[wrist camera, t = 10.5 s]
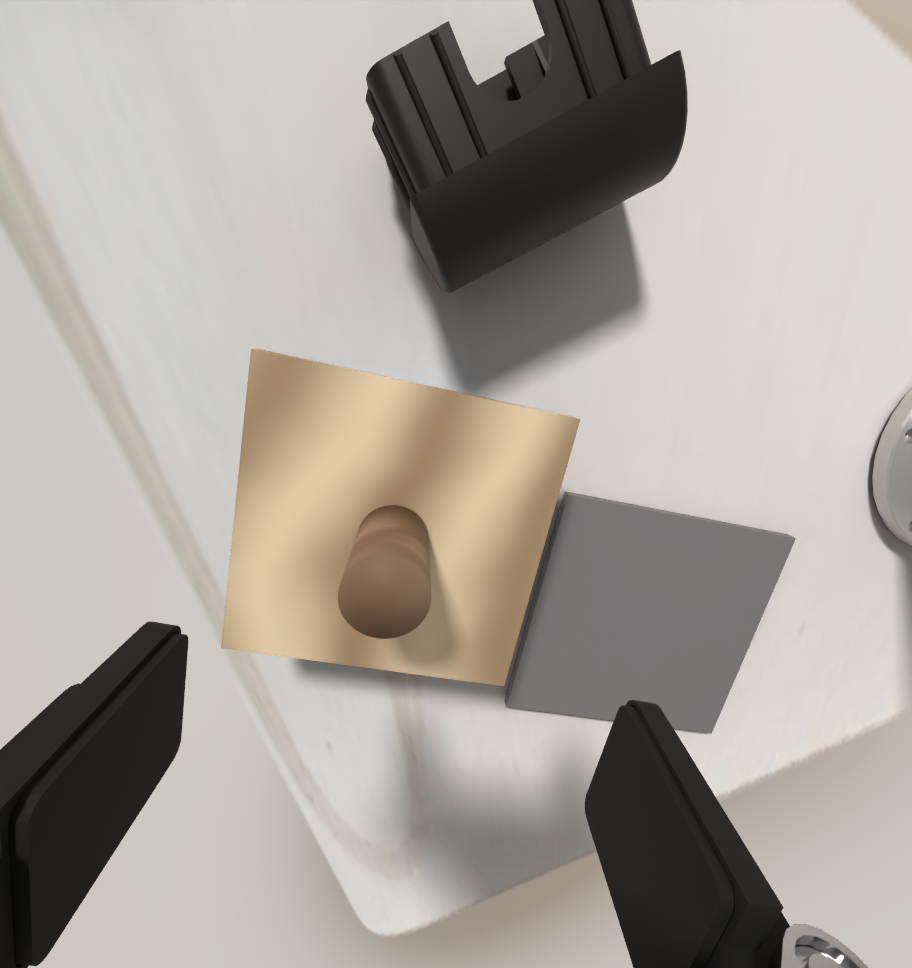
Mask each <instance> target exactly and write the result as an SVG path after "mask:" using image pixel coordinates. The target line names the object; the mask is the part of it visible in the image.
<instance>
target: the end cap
mask: <svg viewBox="0 0 912 968" xmlns="http://www.w3.org/2000/svg"><path fill="white" fill-rule="evenodd" d="M533 3H534V6H535V8H536V11H537V14H538V17H539V20H540V23H541V25H542V28H543V31H544V34H545V35H544V36H543V37H541V38H539V39H537V40H535V41H534V42H532V43H530V44H528V45H527V46H525V47H523V48H521V49H519V50H518V51H516V52H514V53H512V54H510V55H509V56H507V57H506V59H505V62H504V64H505V67H506V70H504V71H502V72H501V73H499V74H497V75H495V76H493V77H492V78H490V79H488V80H486V81H484V82H483V83H481V84H479V85H476V83H475V82H474V81H473V79H472V77H471V75H470V73H469V71H468V69H467V66H466V64H465V61H464V59H463V56H462V54H461V51H460V49H459V46H458V44H457V41H456V39H455V36H454V34H453V31H452V29H451V26H450V24H449V21H448V22H446V23H444V24H443V25H441V26H439V27H437V28H436V29H434V30H432V31H430V32H428V33H427V34H425V35H423V36H421V37H420V38H418V39H416V40H414V41H413V42H411V43H409V44H407V45H406V46H404V47H402V48H400V49H399V50H397V51H395V52H393V53H391V54H390V55H388V56H386V57H384V58H383V59H381V60H380V61H378V62H377V63H376V64H374V65H373V66H372V67H371V69H370V70H369V72H368V74H367V77H366V81H367V86H368V91H367V95H366V102H367V104H368V107H369V109H370V111H371V113H372V115H373V117H374V122H373V126H372V131H373V133H374V135H375V137H376V139H377V141H378V143H379V146H380V148H381V150H382V152H383V154H384V156H385V158H386V161H387V163H388V165H389V167H390V169H391V171H392V174H393V176H394V178H395V180H396V182H397V184H398V186H399V189H400V191H401V193H402V195H403V197H404V199H405V201H406V204H407V206H408V208H409V210H410V213H411V228H412V237H413V240H414V242H415V244H416V246H417V248H418V250H419V252H420V254H421V256H422V258H423V260H424V262H425V263H426V265H427V267H428V269H429V271H430V273H431V274H432V276H433V278H434V279H435V281H436V283H437V284H438V285H439V287H440V288H441V289H442V290H443V291H444V292H452V291H454V290H456V289H458V288H460V287H462V286H464V285H466V284H468V283H470V282H471V281H473V280H475V279H477V278H479V277H481V276H483V275H485V274H487V273H488V272H490V271H492V270H494V269H496V268H498V267H500V266H502V265H504V264H505V263H507V262H509V261H511V260H513V259H515V258H517V257H519V256H521V255H522V254H524V253H526V252H528V251H530V250H532V249H534V248H536V247H538V246H539V245H541V244H543V243H545V242H547V241H549V240H551V239H553V238H555V237H556V236H558V235H560V234H562V233H564V232H566V231H568V230H570V229H572V228H573V227H575V226H577V225H579V224H581V223H583V222H585V221H587V220H589V219H590V218H592V217H594V216H596V215H598V214H600V213H602V212H604V211H606V210H607V209H609V208H611V207H613V206H615V205H617V204H619V203H621V202H623V201H625V200H626V199H628V198H630V197H632V196H634V195H636V194H638V193H640V192H642V191H643V190H645V189H647V188H649V187H651V186H653V185H655V184H657V183H659V182H660V181H662V180H663V179H664V178H665V177H666V176H667V175H668V174H669V173H670V171H671V170H672V168H673V166H674V165H675V163H676V161H677V159H678V156H679V154H680V151H681V148H682V145H683V140H684V136H685V131H686V122H687V85H686V77H685V69H684V65H683V60H682V56H681V51H680V50H679V51H676V52H674V53H673V54H671V55H669V56H667V57H665V58H663V59H662V60H660V61H658V62H656V63H654V64H652V65H651V62H650V59H649V56H648V52H647V49H646V46H645V42H644V39H643V36H642V32H641V29H640V26H639V22H638V19H637V16H636V12H635V9H634V6H633V2H632V0H533Z"/></svg>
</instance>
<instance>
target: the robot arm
mask: <svg viewBox="0 0 912 968" xmlns="http://www.w3.org/2000/svg"><path fill="white" fill-rule="evenodd" d="M872 478H873V495H874V499H875V502H876V506H877V509H878V512H879V514H880V516H881V518H882V519H883V521H884V523H885V525H886V526H887V527H888V528H889V529H890V530H891V532H892V533H893V534H894V535H895V536H896V537H897V538H899V539H900V540H902V541H904V542H905V543H907V544H909V545H910V546H912V389H911V390H910V391H909V392H908V393H907V394H906V395H905V397H904V398H903V399H902V401H901V402H900V404H899V405H898V407H897V408H896V409H895V411H894V412H893V414H892V415H891V417H890V419H889V421H888V423H887V425H886V427H885V429H884V431H883V433H882V436H881V439H880V442H879V445H878V448H877V451H876V454H875V461H874V468H873V475H872ZM187 650H188V637H187V635H184V634H181V629H180V627H179V626H175V625H169V624H163V623H157V622H147V623H146V624H144V625H143V626H142V627H141V628H140V629H139V630H138V631H137V632H136V633H135V634H133V635H132V636H131V637H130V638H129V639H128V640H127V641H126V642H125V643H124V644H123V645H122V646H121V647H119V648H118V650H117V651H115V652H114V653H113V654H112V655H111V656H110V657H109V658H108V659H107V660H106V661H105V662H104V663H102V664H101V665H100V666H99V667H98V668H97V669H96V670H95V671H94V672H93V673H92V674H91V675H90V676H89V677H88V678H86V679H85V680H84V681H83V682H82V683H81V684H76V685H73V686H71V687H69V688H68V689H67V690H65V691H64V692H63V693H62V694H61V695H60V696H59V697H57V698H56V699H55V700H54V701H53V702H52V703H51V704H50V705H49V706H48V707H46V708H45V709H44V710H43V711H42V712H41V713H40V714H39V715H38V716H37V717H36V718H35V719H33V720H32V721H31V722H30V723H29V724H28V725H27V726H26V727H25V728H24V729H23V730H22V731H20V732H19V733H18V734H17V735H16V736H15V737H14V738H13V739H12V740H11V741H10V742H8V743H7V744H6V745H5V746H4V747H3V748H2V749H1V750H0V968H27V967H28V966H29V965H31V966H37V965H39V964H40V963H41V962H42V961H43V960H44V959H45V958H46V956H47V955H48V953H49V952H50V951H51V949H52V948H53V946H54V944H55V943H56V941H57V940H58V938H59V937H60V935H61V934H62V932H63V930H64V929H65V927H66V926H67V924H68V923H69V921H70V919H71V918H72V916H73V915H74V913H75V912H76V910H77V909H78V907H79V906H80V904H81V903H82V901H83V899H84V898H85V896H86V895H87V893H88V892H89V890H90V888H91V887H92V885H93V884H94V882H95V881H96V879H97V878H98V876H99V874H100V873H101V871H102V870H103V868H104V867H105V865H106V864H107V862H108V861H109V859H110V857H111V856H112V854H113V853H114V851H115V850H116V848H117V847H118V845H119V844H120V842H121V840H122V839H123V837H124V836H125V834H126V832H127V831H128V830H129V828H130V826H131V825H132V823H133V822H134V820H135V819H136V817H137V816H138V814H139V812H140V811H141V809H142V808H143V806H144V805H145V803H146V802H147V800H148V798H149V797H150V795H151V794H152V792H153V791H154V789H155V787H156V786H157V784H158V783H159V781H160V780H161V778H162V777H163V775H164V774H165V772H166V770H167V769H168V767H169V766H170V764H171V762H172V761H173V759H174V758H175V756H176V754H177V751H178V748H179V745H180V742H181V732H182V719H183V706H184V692H185V679H186V678H185V677H186V665H187ZM585 813H586V818H587V821H588V824H589V827H590V830H591V834H592V837H593V840H594V843H595V846H596V850H597V853H598V856H599V859H600V862H601V865H602V869H603V872H604V875H605V878H606V881H607V885H608V888H609V890H610V894H611V897H612V900H613V904H614V907H615V910H616V913H617V916H618V919H619V923H620V926H621V929H622V932H623V935H624V939H625V942H626V945H627V948H628V951H629V955H630V958H631V961H632V964H633V967H634V968H868V967H867V966H866V965H865V964H864V963H863V962H862V961H861V960H860V959H859V957H857V956H856V955H855V953H853V952H852V951H851V950H850V949H849V948H847V947H846V946H845V945H844V944H842V943H841V942H840V941H839V940H837V939H836V938H834V937H832V936H831V935H829V934H828V933H826V932H824V931H822V930H821V929H818V928H815V927H812V926H810V925H807V924H794V925H792V926H791V927H790V926H789V924H788V922H787V921H786V919H785V917H784V916H783V914H782V912H781V911H782V909H783V906H782V904H781V903H780V901H779V900H778V898H777V896H776V895H775V893H774V891H773V890H772V888H771V887H770V885H769V883H768V882H767V880H766V879H765V877H764V875H763V874H762V872H761V870H760V869H759V867H758V865H757V864H756V862H755V861H754V859H753V857H752V856H751V854H750V852H749V851H748V849H747V848H746V846H745V844H744V843H743V841H742V840H741V838H740V836H739V835H738V833H737V831H736V830H735V828H734V826H733V825H732V823H731V822H730V820H729V819H728V817H727V815H726V813H725V812H724V810H723V809H722V807H721V805H720V804H719V802H718V800H717V799H716V797H715V796H714V794H713V792H712V791H711V789H710V787H709V786H708V784H707V783H706V781H705V779H704V778H703V776H702V774H701V773H700V771H699V770H698V768H697V766H696V765H695V763H694V761H693V760H692V758H691V757H690V755H689V753H688V752H687V750H686V748H685V747H684V745H683V744H682V742H681V740H680V739H679V737H678V735H677V734H676V732H675V731H674V729H673V727H672V726H671V724H670V722H669V721H668V719H667V718H666V716H665V714H664V713H663V711H662V709H661V708H660V707H659V706H658V705H657V704H655V703H649V702H643V701H637V700H629V701H628V702H627V703H626V705H625V706H624V705H622V706H620V707H619V709H618V711H617V714H616V717H615V719H614V722H613V725H612V728H611V730H610V733H609V736H608V738H607V741H606V744H605V746H604V749H603V752H602V754H601V757H600V760H599V762H598V765H597V768H596V770H595V773H594V776H593V779H592V781H591V784H590V787H589V789H588V792H587V795H586V798H585Z"/></svg>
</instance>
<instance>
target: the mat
mask: <svg viewBox="0 0 912 968" xmlns="http://www.w3.org/2000/svg"><path fill="white" fill-rule="evenodd" d="M795 539H796V538H794V537H792V536H790V535H788V534H782V533H777V532H772V531H767V530H762V529H757V528H751V527H746V526H741V525H736V524H731V523H726V522H720V521H715V520H710V519H705V518H700V517H695V516H689V515H684V514H679V513H674V512H669V511H663V510H658V509H653V508H648V507H643V506H638V505H632V504H627V503H622V502H617V501H612V500H607V499H601V498H596V497H591V496H586V495H581V494H576V493H570V492H565V493H564V496H563V500H562V503H561V507H560V510H559V514H558V517H557V521H556V524H555V527H554V531H553V534H552V538H551V541H550V545H549V548H548V552H547V555H546V559H545V562H544V566H543V569H542V573H541V576H540V580H539V583H538V586H537V590H536V593H535V597H534V600H533V604H532V607H531V611H530V614H529V618H528V621H527V625H526V628H525V632H524V635H523V639H522V642H521V645H520V649H519V652H518V656H517V659H516V663H515V666H514V670H513V673H512V677H511V680H510V684H509V687H508V691H507V694H506V698H505V703H506V707H510V708H518V709H526V710H533V711H541V712H549V713H557V714H564V715H572V716H580V717H587V718H595V719H603V720H611V721H614V719H615V717H616V714H617V711H618V709H619V707H620V706H622V705H624V706H625V705H626V703H627V702H628V701H629V700H637V701H643V702H649V703H655V704H657V705H658V706H659V707H660V708H661V709H662V711H663V713H664V714H665V716H666V718H667V719H668V721H669V722H670V724H671V726H672V727H673V729H680V730H688V731H696V732H703V733H712V731H713V729H714V726H715V724H716V722H717V720H718V717H719V715H720V713H721V710H722V708H723V706H724V703H725V701H726V699H727V696H728V694H729V692H730V689H731V687H732V685H733V683H734V680H735V678H736V676H737V673H738V671H739V669H740V666H741V664H742V662H743V659H744V657H745V655H746V652H747V650H748V648H749V645H750V643H751V641H752V639H753V636H754V634H755V632H756V629H757V627H758V625H759V622H760V620H761V618H762V615H763V613H764V611H765V608H766V606H767V604H768V601H769V599H770V597H771V595H772V592H773V590H774V588H775V585H776V583H777V581H778V578H779V576H780V574H781V571H782V569H783V567H784V564H785V562H786V560H787V558H788V555H789V553H790V551H791V548H792V546H793V544H794V541H795Z"/></svg>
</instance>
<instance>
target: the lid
mask: <svg viewBox="0 0 912 968" xmlns="http://www.w3.org/2000/svg"><path fill="white" fill-rule="evenodd" d="M579 422H580V419H577V418H575V417H572V416H567V415H562V414H558V413H553V412H548V411H544V410H539V409H534V408H530V407H525V406H520V405H516V404H511V403H506V402H502V401H497V400H492V399H488V398H483V397H479V396H474V395H469V394H465V393H460V392H455V391H451V390H446V389H441V388H437V387H432V386H427V385H423V384H418V383H413V382H409V381H404V380H400V379H395V378H390V377H386V376H381V375H376V374H372V373H367V372H362V371H358V370H353V369H348V368H344V367H339V366H334V365H330V364H325V363H320V362H316V361H311V360H307V359H302V358H297V357H293V356H288V355H283V354H279V353H274V352H269V351H265V350H260V349H251V355H250V365H249V375H248V385H247V395H246V405H245V415H244V425H243V435H242V445H241V455H240V465H239V475H238V485H237V495H236V505H235V515H234V525H233V535H232V545H231V555H230V565H229V575H228V585H227V595H226V605H225V615H224V625H223V635H222V645H221V648H224V649H231V650H239V651H246V652H253V653H261V654H268V655H276V656H283V657H290V658H298V659H305V660H313V661H320V662H327V663H335V664H342V665H350V666H357V667H364V668H372V669H379V670H387V671H394V672H401V673H409V674H416V675H424V676H431V677H438V678H446V679H453V680H461V681H468V682H475V683H483V684H490V685H498V686H504V685H505V681H506V678H507V674H508V671H509V667H510V664H511V660H512V657H513V653H514V650H515V646H516V643H517V639H518V636H519V632H520V629H521V625H522V622H523V618H524V615H525V611H526V608H527V604H528V601H529V597H530V594H531V590H532V587H533V583H534V580H535V576H536V573H537V569H538V566H539V562H540V559H541V555H542V552H543V548H544V545H545V541H546V538H547V534H548V531H549V527H550V524H551V520H552V516H553V513H554V509H555V506H556V502H557V499H558V495H559V492H560V488H561V485H562V481H563V478H564V474H565V471H566V467H567V464H568V460H569V457H570V453H571V450H572V446H573V443H574V439H575V436H576V432H577V429H578V425H579Z"/></svg>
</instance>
